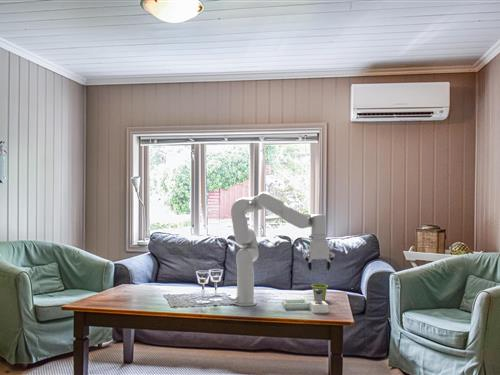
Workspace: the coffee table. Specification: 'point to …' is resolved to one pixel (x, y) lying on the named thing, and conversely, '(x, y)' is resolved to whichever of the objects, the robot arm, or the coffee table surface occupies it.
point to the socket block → (318, 307)
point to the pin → (318, 296)
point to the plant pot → (320, 286)
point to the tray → (295, 304)
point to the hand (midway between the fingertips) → (319, 269)
